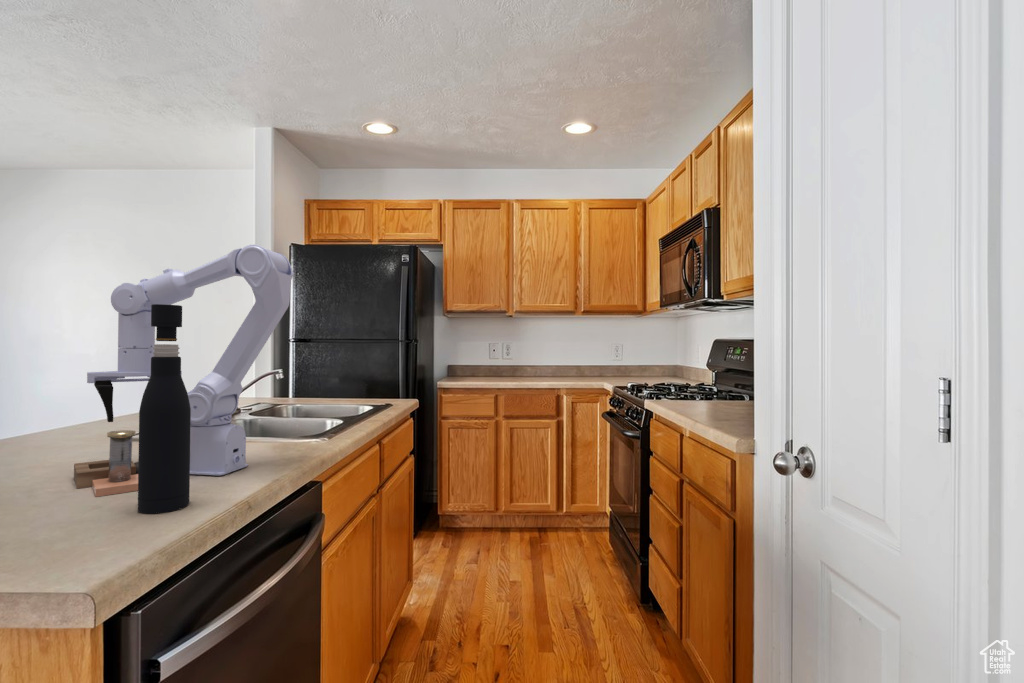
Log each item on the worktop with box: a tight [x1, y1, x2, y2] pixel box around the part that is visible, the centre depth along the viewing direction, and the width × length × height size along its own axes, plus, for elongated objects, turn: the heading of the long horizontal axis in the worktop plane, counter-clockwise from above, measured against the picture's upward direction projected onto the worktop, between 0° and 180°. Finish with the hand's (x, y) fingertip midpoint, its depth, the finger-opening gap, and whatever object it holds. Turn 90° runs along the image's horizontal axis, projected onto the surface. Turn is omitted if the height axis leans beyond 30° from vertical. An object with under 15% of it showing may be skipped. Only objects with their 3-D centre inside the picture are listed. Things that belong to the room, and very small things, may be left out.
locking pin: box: [106, 429, 136, 482], centre depth 88 cm, size 4×4×8 cm
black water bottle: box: [137, 304, 191, 515], centre depth 78 cm, size 6×6×30 cm
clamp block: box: [73, 459, 139, 490], centre depth 94 cm, size 9×10×2 cm
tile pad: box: [91, 474, 138, 497], centre depth 88 cm, size 7×7×1 cm
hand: (135, 419), depth 100 cm, fingers open, 7 cm apart
